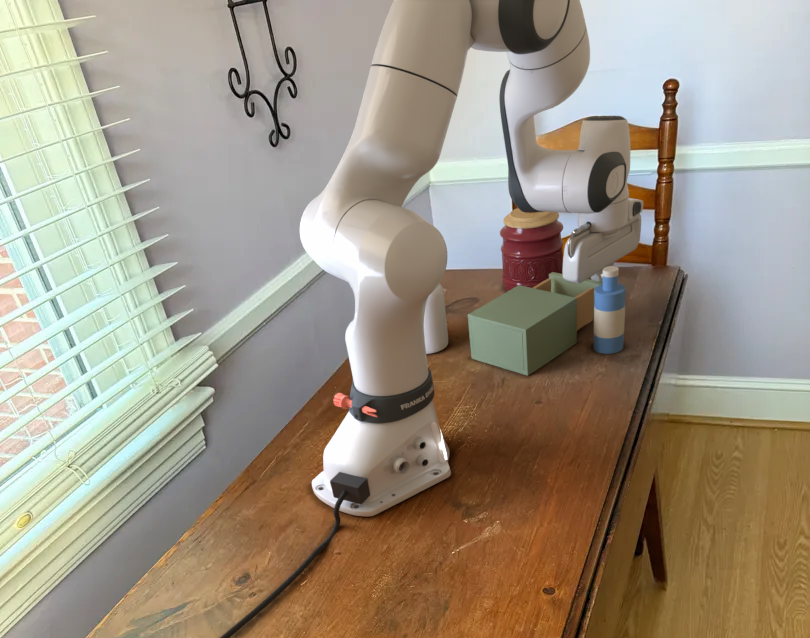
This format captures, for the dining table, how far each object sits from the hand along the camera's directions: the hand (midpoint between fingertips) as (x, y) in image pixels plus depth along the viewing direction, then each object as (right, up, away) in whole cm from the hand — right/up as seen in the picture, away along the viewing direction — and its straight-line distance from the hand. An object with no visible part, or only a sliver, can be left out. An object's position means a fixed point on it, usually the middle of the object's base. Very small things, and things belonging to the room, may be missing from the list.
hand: (600, 288), depth 150 cm
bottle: (0, -13, -7) cm, 15 cm away
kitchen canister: (-10, +7, +20) cm, 23 cm away
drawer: (-7, -5, +2) cm, 9 cm away
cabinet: (-15, -13, -3) cm, 20 cm away
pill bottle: (-33, -10, +4) cm, 34 cm away
